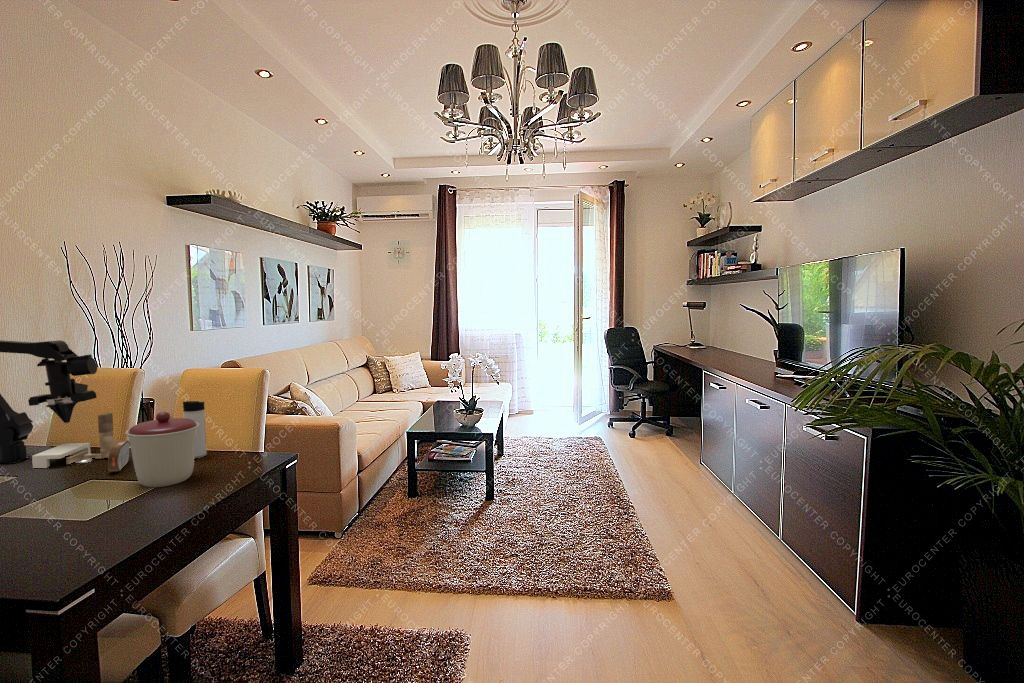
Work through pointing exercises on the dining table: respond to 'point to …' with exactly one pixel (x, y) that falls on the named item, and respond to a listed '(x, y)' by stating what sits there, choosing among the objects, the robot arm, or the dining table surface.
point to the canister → (163, 450)
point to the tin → (118, 455)
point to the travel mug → (197, 414)
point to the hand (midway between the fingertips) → (67, 422)
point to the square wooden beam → (105, 439)
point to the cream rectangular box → (58, 453)
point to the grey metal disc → (83, 460)
